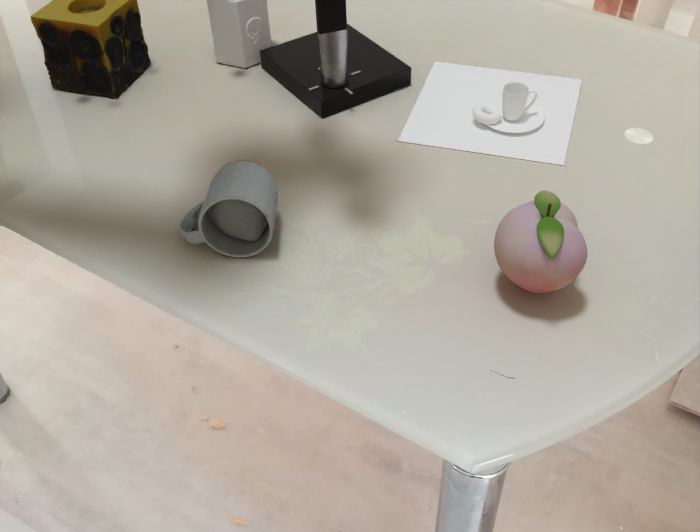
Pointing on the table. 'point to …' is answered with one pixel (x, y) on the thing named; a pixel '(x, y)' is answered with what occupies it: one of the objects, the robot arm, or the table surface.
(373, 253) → the table surface
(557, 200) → the decorative fruit
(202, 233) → the ceramic mug
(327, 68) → the silver cylinder
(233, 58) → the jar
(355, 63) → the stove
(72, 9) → the candle
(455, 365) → the table surface
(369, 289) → the table surface
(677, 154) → the table surface
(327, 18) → the robot arm
